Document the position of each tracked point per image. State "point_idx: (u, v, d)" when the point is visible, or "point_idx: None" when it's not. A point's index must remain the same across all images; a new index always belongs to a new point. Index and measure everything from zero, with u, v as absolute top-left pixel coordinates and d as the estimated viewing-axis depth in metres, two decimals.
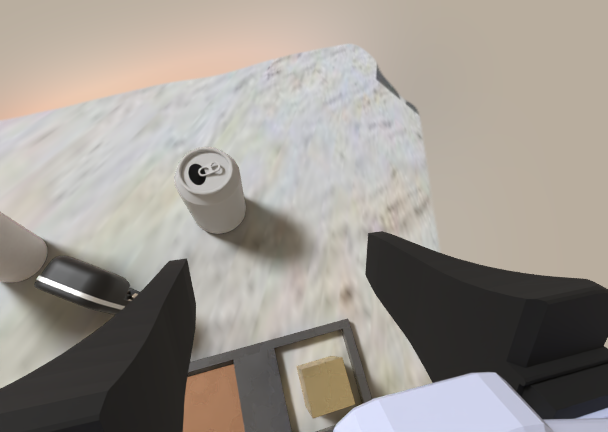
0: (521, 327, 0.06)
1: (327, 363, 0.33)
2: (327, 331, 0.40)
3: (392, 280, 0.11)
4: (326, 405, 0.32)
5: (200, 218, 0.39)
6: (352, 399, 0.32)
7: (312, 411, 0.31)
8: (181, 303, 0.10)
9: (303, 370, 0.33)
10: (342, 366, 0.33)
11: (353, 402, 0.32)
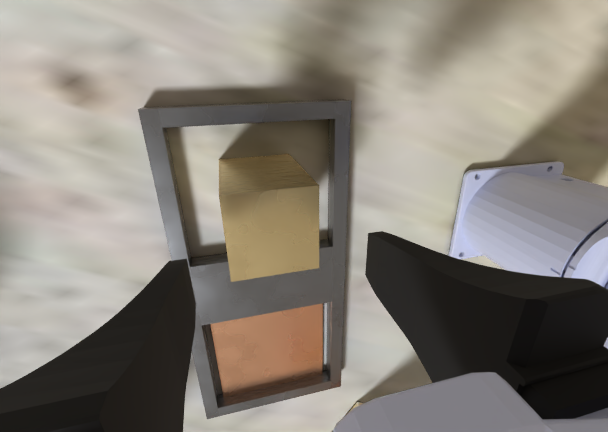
0: (521, 327, 0.06)
1: (227, 230, 0.14)
2: (166, 164, 0.18)
3: (392, 280, 0.11)
4: (306, 243, 0.16)
5: None
6: (308, 189, 0.14)
7: (308, 267, 0.16)
8: (181, 303, 0.10)
9: (233, 278, 0.15)
10: (239, 198, 0.14)
11: (314, 188, 0.14)
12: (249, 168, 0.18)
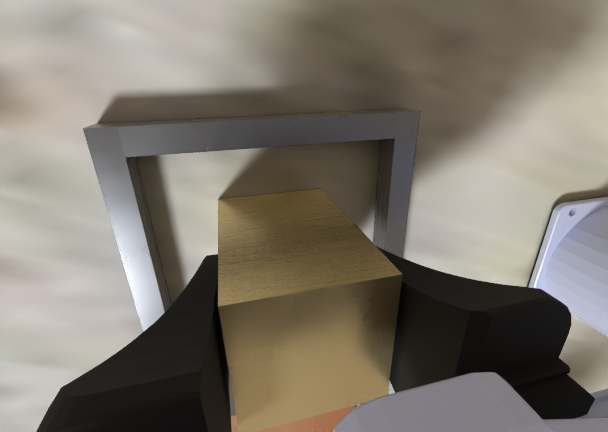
0: (468, 340, 0.06)
1: (234, 361, 0.08)
2: (134, 213, 0.11)
3: None
4: (370, 364, 0.09)
5: None
6: (384, 282, 0.08)
7: (370, 398, 0.09)
8: None
9: (243, 430, 0.09)
10: (257, 307, 0.07)
11: (394, 279, 0.08)
12: (267, 222, 0.11)
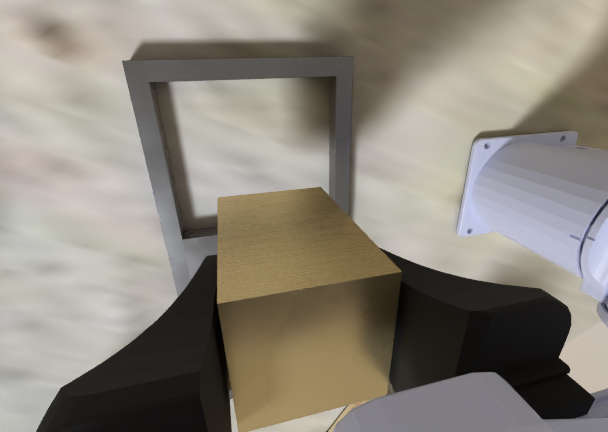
0: (467, 339, 0.06)
1: (233, 358, 0.08)
2: (154, 124, 0.17)
3: None
4: (369, 362, 0.09)
5: None
6: (383, 279, 0.08)
7: (370, 396, 0.09)
8: None
9: (243, 428, 0.09)
10: (256, 304, 0.07)
11: (394, 277, 0.08)
12: (266, 220, 0.11)
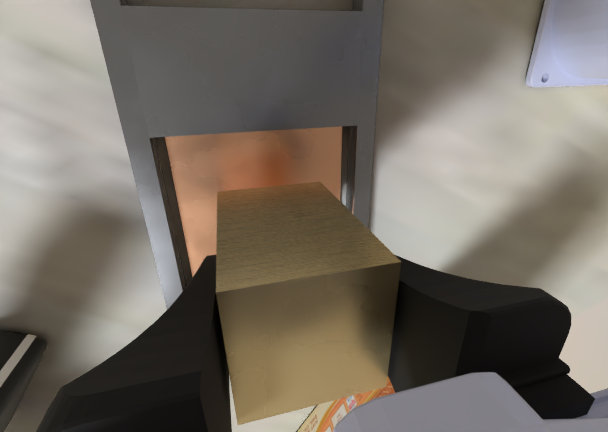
0: (467, 339, 0.06)
1: (232, 348, 0.08)
2: None
3: None
4: (368, 354, 0.09)
5: None
6: (383, 270, 0.08)
7: (369, 388, 0.09)
8: None
9: (242, 419, 0.09)
10: (255, 294, 0.07)
11: (393, 267, 0.08)
12: (266, 213, 0.11)
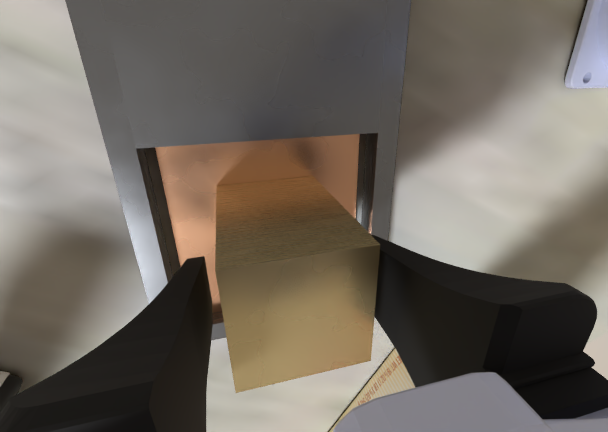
0: (496, 332, 0.06)
1: (229, 321, 0.09)
2: None
3: None
4: (353, 329, 0.10)
5: None
6: (364, 251, 0.09)
7: (354, 361, 0.10)
8: (201, 300, 0.10)
9: (239, 387, 0.10)
10: (250, 272, 0.08)
11: (373, 249, 0.09)
12: (261, 204, 0.12)
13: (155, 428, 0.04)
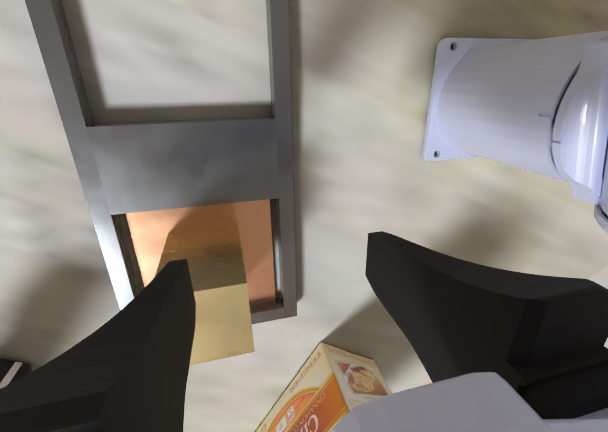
0: (521, 327, 0.06)
1: None
2: None
3: (392, 280, 0.11)
4: (239, 332, 0.16)
5: None
6: (237, 287, 0.15)
7: (243, 352, 0.17)
8: (181, 303, 0.10)
9: None
10: None
11: (243, 286, 0.15)
12: (191, 251, 0.18)
13: None
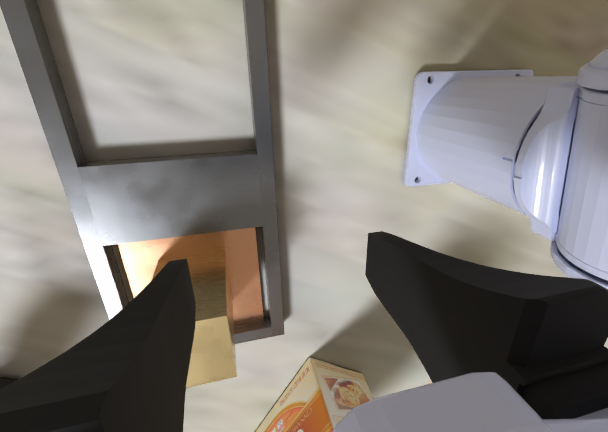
0: (521, 327, 0.06)
1: None
2: (26, 21, 0.15)
3: (392, 280, 0.11)
4: (221, 359, 0.17)
5: None
6: (217, 319, 0.16)
7: (226, 377, 0.18)
8: (181, 303, 0.10)
9: None
10: None
11: (223, 318, 0.16)
12: None
13: None
